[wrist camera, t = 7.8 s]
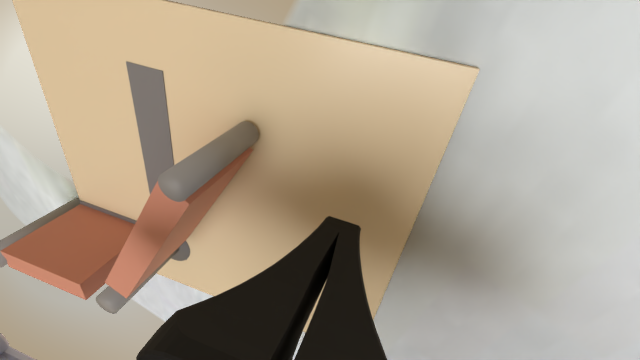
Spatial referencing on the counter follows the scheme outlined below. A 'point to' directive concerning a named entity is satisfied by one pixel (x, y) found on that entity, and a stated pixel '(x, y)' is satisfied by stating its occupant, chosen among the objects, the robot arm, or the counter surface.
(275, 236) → the card
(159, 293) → the counter surface
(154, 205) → the fence gate
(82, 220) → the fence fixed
